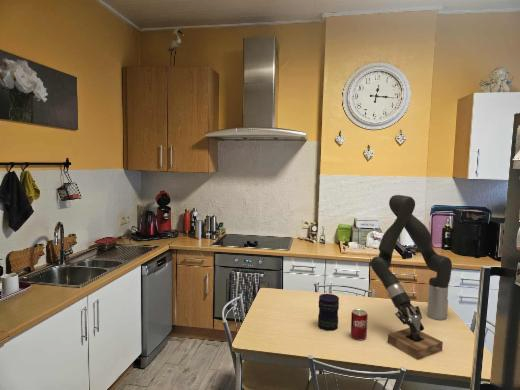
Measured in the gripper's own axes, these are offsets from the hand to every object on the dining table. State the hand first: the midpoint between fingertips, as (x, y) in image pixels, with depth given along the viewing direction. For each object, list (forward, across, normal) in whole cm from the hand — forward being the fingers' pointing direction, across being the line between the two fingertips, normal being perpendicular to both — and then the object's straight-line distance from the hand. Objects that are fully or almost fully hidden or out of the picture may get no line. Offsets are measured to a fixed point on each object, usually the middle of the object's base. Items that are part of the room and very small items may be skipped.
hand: (419, 331), depth 158 cm
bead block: (+4, 0, +7) cm, 8 cm away
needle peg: (+2, 0, +5) cm, 5 cm away
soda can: (-8, -16, +20) cm, 27 cm away
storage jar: (-19, -22, +30) cm, 42 cm away
